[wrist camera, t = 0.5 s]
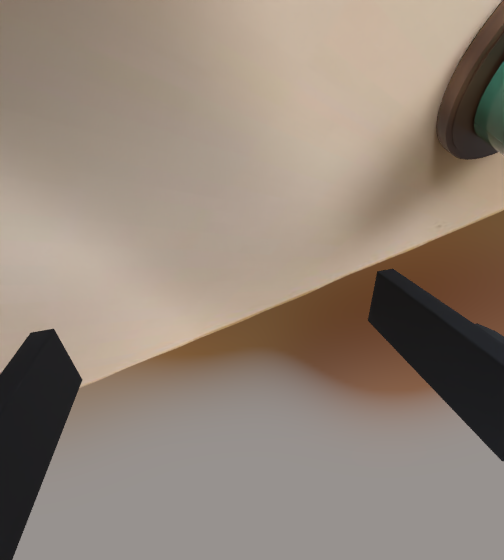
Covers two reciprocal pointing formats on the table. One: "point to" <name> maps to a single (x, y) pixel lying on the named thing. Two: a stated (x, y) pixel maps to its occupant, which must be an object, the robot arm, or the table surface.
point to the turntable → (471, 91)
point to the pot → (492, 113)
